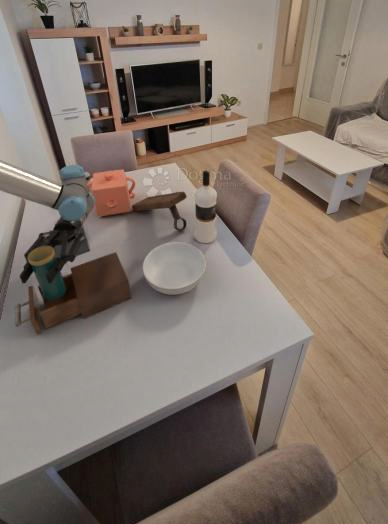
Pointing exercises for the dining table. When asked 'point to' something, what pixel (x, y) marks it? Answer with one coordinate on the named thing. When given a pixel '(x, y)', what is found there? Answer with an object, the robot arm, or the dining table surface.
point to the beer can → (88, 181)
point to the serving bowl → (174, 267)
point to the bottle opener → (163, 205)
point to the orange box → (111, 192)
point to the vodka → (205, 211)
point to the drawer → (50, 307)
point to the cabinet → (100, 284)
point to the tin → (41, 265)
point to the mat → (81, 250)
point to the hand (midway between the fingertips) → (35, 279)
